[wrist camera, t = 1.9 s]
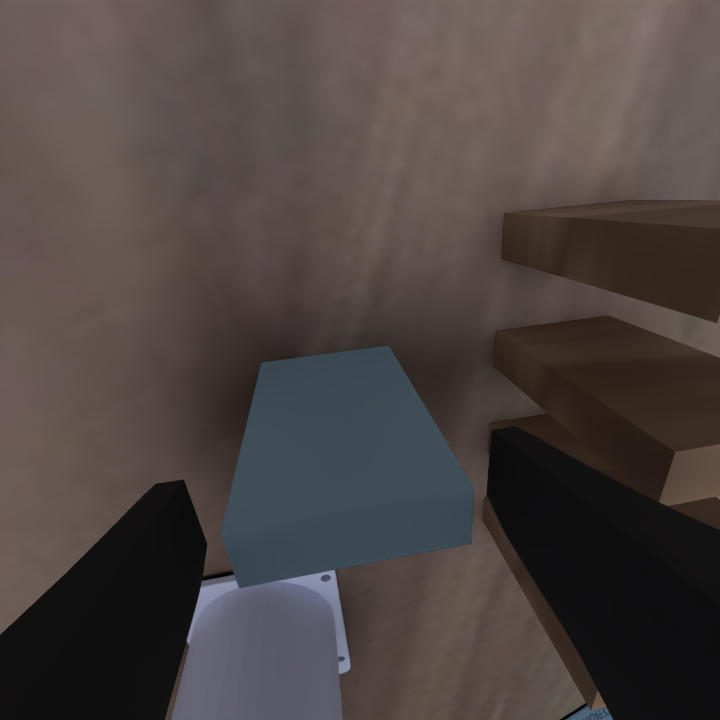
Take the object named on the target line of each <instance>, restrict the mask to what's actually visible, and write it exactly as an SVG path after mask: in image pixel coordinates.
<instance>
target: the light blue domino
mask: <svg viewBox="0 0 720 720" xmlns="http://www.w3.org/2000/svg"><path fill="white" fill-rule="evenodd" d="M473 500H474V487H473V485H472V483H471V482H470V480H469V478H468V477H467V475H466V473H465V472H464V470H463V468H462V467H461V465H460V463H459V462H458V460H457V458H456V457H455V455H454V453H453V452H452V450H451V448H450V447H449V445H448V443H447V442H446V440H445V438H444V437H443V435H442V433H441V432H440V430H439V428H438V427H437V425H436V423H435V422H434V420H433V418H432V417H431V415H430V413H429V412H428V410H427V408H426V407H425V405H424V403H423V402H422V400H421V398H420V397H419V395H418V393H417V392H416V390H415V388H414V387H413V385H412V383H411V382H410V380H409V378H408V377H407V375H406V373H405V372H404V370H403V368H402V367H401V365H400V363H399V362H398V360H397V358H396V357H395V355H394V353H393V352H392V350H391V348H390V347H389V345H387V346H380V347H373V348H365V349H358V350H350V351H343V352H336V353H328V354H321V355H313V356H306V357H299V358H291V359H284V360H276V361H269V362H262V363H261V366H260V370H259V375H258V379H257V383H256V387H255V391H254V395H253V400H252V404H251V408H250V412H249V416H248V420H247V424H246V429H245V433H244V437H243V441H242V445H241V449H240V454H239V458H238V462H237V466H236V470H235V474H234V478H233V483H232V487H231V491H230V495H229V499H228V503H227V508H226V512H225V516H224V520H223V524H222V528H221V536H222V539H223V542H224V545H225V548H226V551H227V554H228V557H229V560H230V563H231V566H232V569H233V572H234V575H235V578H236V581H237V584H238V587H239V588H245V587H250V586H255V585H260V584H265V583H270V582H276V581H281V580H286V579H291V578H296V577H301V576H307V575H312V574H317V573H322V572H327V571H332V570H338V569H343V568H348V567H353V566H358V565H363V564H369V563H374V562H379V561H384V560H389V559H395V558H400V557H405V556H410V555H415V554H420V553H426V552H431V551H436V550H441V549H446V548H451V547H457V546H462V545H467V544H471V537H472V519H473Z"/></svg>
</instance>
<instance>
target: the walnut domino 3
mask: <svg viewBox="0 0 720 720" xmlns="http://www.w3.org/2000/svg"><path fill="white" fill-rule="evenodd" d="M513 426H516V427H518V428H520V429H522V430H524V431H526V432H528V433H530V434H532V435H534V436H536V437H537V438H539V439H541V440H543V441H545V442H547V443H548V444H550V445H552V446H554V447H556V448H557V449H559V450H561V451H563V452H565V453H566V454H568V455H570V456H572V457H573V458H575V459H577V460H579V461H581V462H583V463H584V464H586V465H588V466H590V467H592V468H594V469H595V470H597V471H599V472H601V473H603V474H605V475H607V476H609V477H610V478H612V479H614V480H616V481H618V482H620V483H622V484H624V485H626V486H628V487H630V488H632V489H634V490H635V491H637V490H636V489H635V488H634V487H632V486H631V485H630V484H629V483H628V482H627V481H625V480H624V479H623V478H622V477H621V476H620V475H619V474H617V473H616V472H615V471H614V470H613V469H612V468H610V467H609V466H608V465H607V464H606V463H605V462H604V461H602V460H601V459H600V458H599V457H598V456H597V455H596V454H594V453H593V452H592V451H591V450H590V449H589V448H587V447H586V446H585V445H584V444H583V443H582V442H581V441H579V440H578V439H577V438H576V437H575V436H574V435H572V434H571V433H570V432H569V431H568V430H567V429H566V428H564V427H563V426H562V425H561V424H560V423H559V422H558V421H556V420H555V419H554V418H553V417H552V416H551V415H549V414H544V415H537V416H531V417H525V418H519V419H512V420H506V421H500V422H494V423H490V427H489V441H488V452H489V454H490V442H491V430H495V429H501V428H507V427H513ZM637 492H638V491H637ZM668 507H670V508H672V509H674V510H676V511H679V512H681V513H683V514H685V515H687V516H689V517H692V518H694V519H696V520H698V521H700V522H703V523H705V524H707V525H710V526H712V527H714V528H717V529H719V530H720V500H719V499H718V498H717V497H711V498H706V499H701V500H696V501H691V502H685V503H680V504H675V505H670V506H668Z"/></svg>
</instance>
